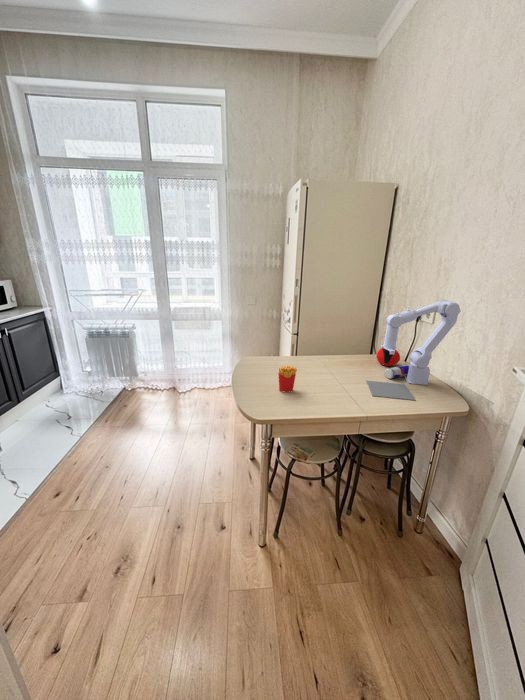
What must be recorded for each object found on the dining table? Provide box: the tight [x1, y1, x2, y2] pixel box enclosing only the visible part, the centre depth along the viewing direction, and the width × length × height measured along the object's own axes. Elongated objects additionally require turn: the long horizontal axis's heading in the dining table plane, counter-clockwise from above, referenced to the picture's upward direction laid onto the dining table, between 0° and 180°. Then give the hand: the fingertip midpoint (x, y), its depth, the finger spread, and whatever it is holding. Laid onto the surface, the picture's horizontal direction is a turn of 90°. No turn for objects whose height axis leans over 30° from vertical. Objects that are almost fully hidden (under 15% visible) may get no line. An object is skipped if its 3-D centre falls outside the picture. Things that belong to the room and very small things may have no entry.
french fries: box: [278, 365, 298, 393], centre depth 134 cm, size 8×4×12 cm, turn 92°
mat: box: [366, 380, 416, 402], centre depth 140 cm, size 19×17×1 cm
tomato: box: [376, 347, 401, 367], centre depth 171 cm, size 12×13×11 cm
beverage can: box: [384, 364, 410, 380], centre depth 155 cm, size 6×6×15 cm
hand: (386, 362), depth 149 cm, fingers closed
